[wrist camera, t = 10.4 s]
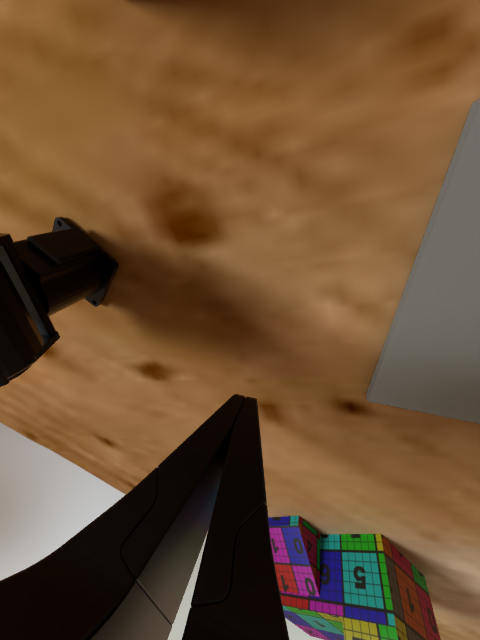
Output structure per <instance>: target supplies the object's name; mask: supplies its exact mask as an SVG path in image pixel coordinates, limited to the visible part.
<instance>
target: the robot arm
mask: <svg viewBox="0 0 480 640" xmlns="http://www.w3.org/2000/svg"><path fill="white" fill-rule="evenodd" d="M111 264H112V265H111ZM117 268H118V265H117V263H116V261H115V260H113V259H112V258H111V257H110V256H109V255H108V254H106V253H105V252H104V251H103V250H102V249H100V248H99V247H98V246H97V245H96V244H95V243H93V242H92V241H91V240H90V239H89V238H87V237H86V236H85V235H84V234H83V233H81V232H80V231H79V230H78V229H77V228H76V227H74V226H73V225H72V224H71V223H70V222H68V221H67V220H66V219H65V218H63V217H57V218H55V221H54V226H53V231H52V232H49V233H44V234H39V235H34V236H29V237H27V239H26V240H21V241H16V242H13V240H12V238H11V236H10V234H2V233H0V387H1V386H4V385H6V384H8V383H9V381H10V380H12V379H14V378H16V377H18V376H19V375H21V374H22V373H24V372H25V371H26V370H27V369H28V368H29V367H30V366H31V365H32V364H33V363H34V362H35V361H36V360H37V359H39V358H40V357H41V356H42V355H43V354H44V353H45V352H46V351H47V350H48V349H49V348H50V347H51V346H52V345H53V344H54V343H55V342H56V341H57V340H58V339H59V338H60V336H59V334H58V332H57V331H56V330H55V328H54V326H53V324H52V322H51V320H50V318H49V316H50V315H52V314H54V313H56V312H58V311H60V310H62V309H64V308H66V307H68V306H70V305H72V304H74V303H76V302H78V301H80V300H82V299H84V298H85V299H86V300H87V301H88V302H90V303H91V304H92V305H94V306H96V307H97V306H99V305H101V303H102V301H103V299H104V297H105V294H106V292H107V290H108V288H109V286H110V283H111V281H112V279H113V277H114V275H115V273H116V270H117ZM266 502H267V501H266V491H265V480H264V469H263V458H262V448H261V437H260V426H259V416H258V405H257V399H255V398H251V397H246V398H245V396H242V395H238V394H235V395H233V396H232V397H231V398H230V399H229V400H228V401H227V402H225V403H224V404H223V405H222V406H221V407H220V408H219V409H218V410H217V411H216V412H215V413H214V414H213V415H212V416H211V417H210V418H208V419H207V420H206V421H205V422H204V423H203V424H202V425H201V426H200V427H199V428H198V429H197V430H196V431H195V432H194V433H193V434H191V435H190V436H189V437H188V438H187V439H186V440H185V441H184V442H183V443H182V444H181V445H180V446H179V447H178V448H177V449H175V450H174V451H173V452H172V453H171V454H170V455H169V456H168V457H167V458H166V459H165V460H164V461H163V462H162V463H161V464H160V465H159V466H158V468H155V469H154V470H153V471H152V472H151V473H150V474H149V475H148V476H147V477H146V478H144V479H143V480H142V481H141V482H140V483H139V484H138V485H137V486H136V487H134V488H133V489H132V490H131V491H130V492H129V493H128V494H126V495H125V496H124V497H123V498H121V499H120V500H119V501H118V502H117V503H115V504H114V505H113V506H112V507H110V508H109V509H108V510H107V511H106V512H104V513H103V514H102V515H100V516H99V517H98V518H96V519H95V520H94V521H93V522H91V523H90V524H89V525H88V526H86V527H85V528H84V529H83V530H81V531H80V532H79V533H77V534H76V535H75V536H74V537H72V538H71V539H70V540H69V541H67V542H66V543H65V544H63V545H62V546H61V547H60V548H58V549H57V550H56V551H54V552H53V553H51V554H50V555H48V556H47V557H45V558H44V559H42V560H41V561H39V562H37V563H36V564H34V565H32V566H30V567H29V568H27V569H25V570H22V571H20V572H18V573H16V574H14V575H12V576H10V577H8V578H6V579H4V580H1V581H0V640H167V639H168V636H169V633H170V631H171V628H172V624H173V622H174V620H175V617H176V614H177V612H178V609H179V606H180V604H181V601H182V598H183V595H184V593H185V590H186V588H187V585H188V582H189V580H190V577H191V574H192V572H193V569H194V566H195V563H196V561H197V558H198V555H199V553H200V550H201V547H202V545H203V542H204V539H205V537H206V534H207V531H208V534H207V538H206V543H205V547H204V551H203V555H202V560H201V564H200V568H199V572H198V577H197V581H196V585H195V589H194V593H193V597H192V602H191V608H190V611H189V614H188V618H187V622H186V626H185V630H184V634H183V637H182V640H289V636H288V631H287V626H286V621H285V615H284V610H283V605H282V600H281V595H280V590H279V585H278V580H277V575H276V569H275V563H274V558H273V552H272V546H271V538H270V530H269V521H268V510H267V505H266ZM208 529H209V530H208Z"/></svg>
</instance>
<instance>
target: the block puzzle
mask: <svg viewBox="0 0 480 640" xmlns="http://www.w3.org/2000/svg"><path fill="white" fill-rule="evenodd" d="M268 521H269V530H270V538H271V546H272V552H273V558H274V563H275V569H276V575H277V580H278V585H279V590H280V595H281V600H282V605H283V610H284V615H285V618H287V619H288V620H290V621H291V622H292V623H294V624H295V625H296V626H298V627H299V628H300V629H302V630H303V631H304V632H306V633H307V634H309V635H310V636H313V637H317V638H321V639H324V640H441V639H440V635H439V631H438V628H437V624H436V620H435V616H434V612H433V608H432V604H431V600H430V596H429V592H428V588H427V585H426V581H425V577H424V575H423V574H422V573H420V572H419V571H418V570H417V569H416V568H415V567H414V566H413V565H412V564H411V563H410V562H409V561H408V560H407V559H406V558H405V557H404V556H403V555H402V554H401V553H400V552H399V551H398V550H397V549H396V548H395V547H394V546H393V545H392V544H391V543H390V542H388V541H387V540H386V539H385V538H384V537H383V536H382V535H381V534H335V535H320V534H319V533H318V532H316V531H315V530H314V529H313V528H312V527H311V526H310V525H309V524H307V523H306V522H305V521H304V520H303V519H302V518H301V517H300V516H288V517H272V518H268Z"/></svg>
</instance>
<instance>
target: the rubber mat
mask: <svg viewBox="0 0 480 640" xmlns="http://www.w3.org/2000/svg"><path fill="white" fill-rule="evenodd" d="M366 397H367V401H368V402H373V403H378V404H383V405H388V406H393V407H398V408H403V409H408V410H413V411H418V412H423V413H428V414H433V415H438V416H443V417H448V418H453V419H458V420H463V421H468V422H473V423H478V424H480V99H478V100H476V101H474V102H473V103H472V106H471V109H470V111H469V114H468V117H467V120H466V122H465V125H464V128H463V131H462V133H461V136H460V139H459V141H458V144H457V147H456V150H455V152H454V155H453V158H452V161H451V163H450V166H449V169H448V172H447V174H446V177H445V180H444V182H443V185H442V188H441V191H440V193H439V196H438V199H437V202H436V204H435V207H434V210H433V213H432V215H431V218H430V221H429V224H428V226H427V229H426V232H425V234H424V237H423V240H422V243H421V245H420V248H419V251H418V254H417V256H416V259H415V262H414V265H413V267H412V270H411V273H410V275H409V278H408V281H407V284H406V286H405V289H404V292H403V295H402V297H401V300H400V303H399V306H398V308H397V311H396V314H395V316H394V319H393V322H392V325H391V327H390V330H389V333H388V336H387V338H386V341H385V344H384V347H383V349H382V352H381V355H380V358H379V360H378V363H377V366H376V368H375V371H374V374H373V377H372V379H371V382H370V385H369V388H368V390H367V393H366Z"/></svg>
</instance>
